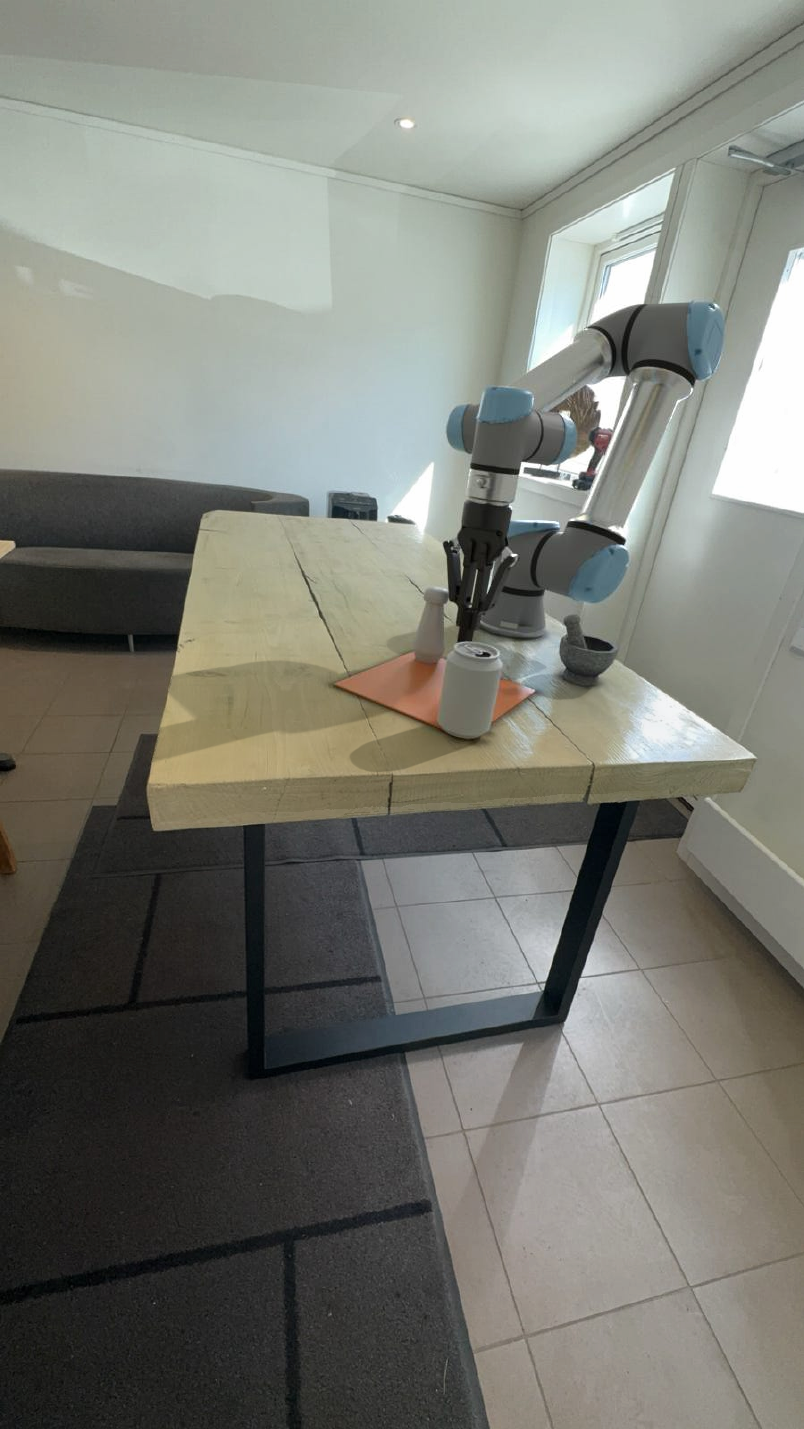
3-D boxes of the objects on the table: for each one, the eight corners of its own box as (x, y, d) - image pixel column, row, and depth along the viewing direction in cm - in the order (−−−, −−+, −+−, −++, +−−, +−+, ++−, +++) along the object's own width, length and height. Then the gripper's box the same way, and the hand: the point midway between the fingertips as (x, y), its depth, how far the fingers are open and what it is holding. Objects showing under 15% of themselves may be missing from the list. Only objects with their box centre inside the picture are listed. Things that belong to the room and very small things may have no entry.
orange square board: (417, 651, 110) (417, 649, 110) (535, 691, 99) (536, 690, 99) (333, 685, 92) (333, 683, 91) (467, 740, 80) (467, 738, 80)
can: (474, 747, 78) (491, 663, 73) (426, 728, 81) (438, 647, 76) (497, 728, 84) (514, 649, 79) (451, 711, 87) (464, 634, 82)
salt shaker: (440, 667, 103) (451, 595, 97) (408, 662, 103) (417, 589, 98) (444, 657, 108) (455, 587, 102) (414, 651, 109) (423, 582, 103)
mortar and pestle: (587, 668, 112) (603, 607, 107) (618, 688, 105) (637, 623, 99) (536, 669, 109) (551, 606, 103) (565, 690, 101) (582, 623, 96)
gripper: (440, 495, 90) (420, 640, 101) (517, 509, 84) (487, 662, 95) (464, 494, 96) (442, 631, 106) (537, 508, 90) (507, 652, 100)
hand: (463, 646), depth 100 cm, fingers closed
